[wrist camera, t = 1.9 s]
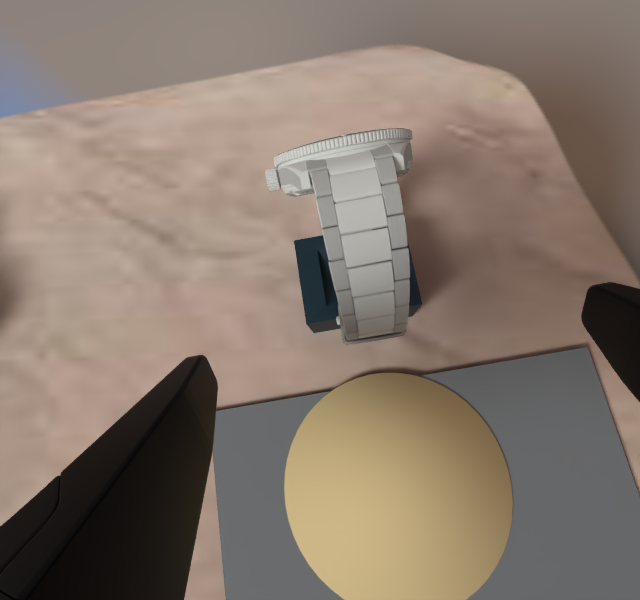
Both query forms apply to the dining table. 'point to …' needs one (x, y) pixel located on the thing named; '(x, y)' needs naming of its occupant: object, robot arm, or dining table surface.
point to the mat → (431, 489)
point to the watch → (354, 233)
